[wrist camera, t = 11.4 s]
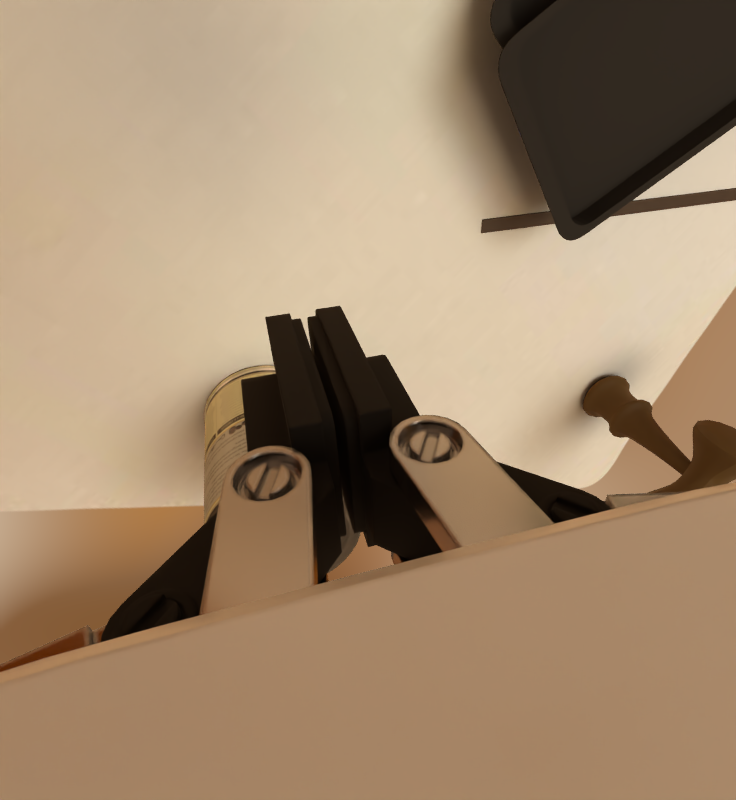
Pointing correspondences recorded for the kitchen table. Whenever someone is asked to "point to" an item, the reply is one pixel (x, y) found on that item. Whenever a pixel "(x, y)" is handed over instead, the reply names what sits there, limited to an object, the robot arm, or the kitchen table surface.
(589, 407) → the kendama
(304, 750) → the robot arm
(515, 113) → the tray
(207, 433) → the coffee can
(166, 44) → the kitchen table surface
